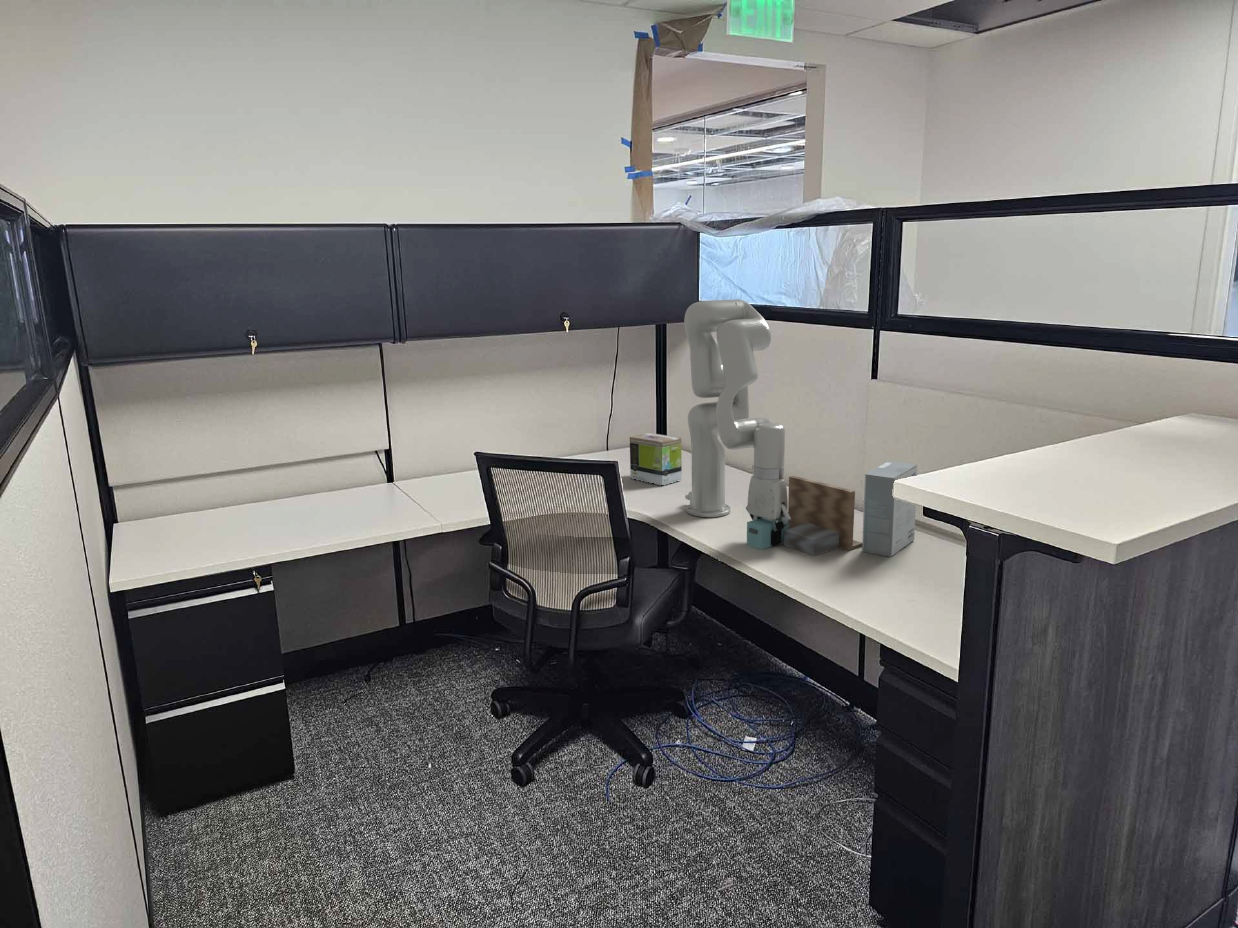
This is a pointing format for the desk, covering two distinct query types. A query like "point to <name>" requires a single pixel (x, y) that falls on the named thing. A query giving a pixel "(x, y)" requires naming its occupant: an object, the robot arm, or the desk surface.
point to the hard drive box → (887, 511)
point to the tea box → (655, 458)
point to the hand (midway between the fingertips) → (767, 540)
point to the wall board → (819, 517)
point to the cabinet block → (761, 533)
